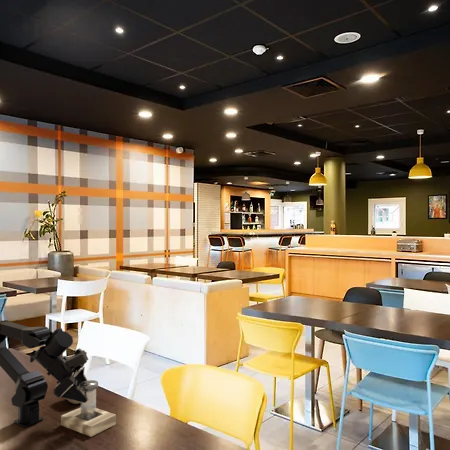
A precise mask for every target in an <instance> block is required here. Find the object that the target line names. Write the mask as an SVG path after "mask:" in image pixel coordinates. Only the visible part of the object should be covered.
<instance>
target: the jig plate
mask: <svg viewBox="0 0 450 450" xmlns="http://www.w3.org/2000/svg"><path fill="white" fill-rule="evenodd" d="M115 425H117V414H115V413H112V412H109V411H106V410H103V409H99V408H98V407H96V418H94V419H91V420H89V421H86V420H83V419H81V407H79V408H76V409H73V410H71V411H69V412H67V413H64V414H62V415H61V416H60V426H62V427H65V428H67V429H69V430H73V431H75V432H78V433H80V434H82V435H86V436H88V437H91V438H92V437H94V436H96V435H98V434H99V433H102V432H103V431H106V430H107V429H109V428H111V427H114V426H115Z"/></svg>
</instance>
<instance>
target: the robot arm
mask: <svg viewBox="0 0 450 450" xmlns="http://www.w3.org/2000/svg"><path fill="white" fill-rule="evenodd" d="M7 338H11V339H15V340H18V341H20V342H21V345H23V346H25V347H26V348H28V349H29V350H30V349H33V350H32V352H31V353H30V354H29V356H30V359H29V362H30V363H33V362H34V361H36V362H37V363H39V365H41V366H42V367H43V368H44V369H45V370H46V371H47V373H46V375H48V376H52V377H53V378H54V379H55V380H56V384H57V385H55V386H54V388H53V395H54V396H56V398H57V399H59V398H61V399H63V398H64V399H66V398H68V399H72V400H76V401H79V402H83V403H86V402H87V399H86V397H85V396H84V394H83V393H82V392H81V391H80V389H79V388H78V387H79V383H81V382H83V381H88V379H87V377H86V375H85V370H86V369H85V364H86V363H87V362H88V361H89V357H88V355H87V354H88V353H87V351H85V349H81V348H78V349H75V350H74V354H73V355H72V356H70V357H67V356H66V355H63V356H62V354H63V353H65V352H66V351H67V350H68V349H69V348H70V347H71V346H72V345H73V343H74V339H73V336H72V335H71V334H70V333H69V332H67V331H64V330H63V327H62V328H61V327H60V328H56V329H55V330H54V331H52V330H50V329H49V327H48V326H32V327H31V326H26V325H22V324H19V323H16V322H12V321H9V319H7V320H6V319H4V320H0V368H2V370H3V371H4V372H5V373H6V375H8V377H9V378H10V379H11V380H12V381H13V382H14V384H15V393H14V395H13V396H12V397H11V403H12V406H14V407H17V408H18V413H17V414H18V415H17V416H18V418H17V419H15V420H13V423H14V424H17V425H18V426H21V427H23V428H27V427H29V426H31V425H34V424H36V423H39V422H41V421H43V420H44V418H43V417H41V416H40V402H39V401H42V400H44V399H45V398H46V395H47V391H48V388H49V385H48V383H47V380H46V379H45V378H46V377H45V376H43V375H42V373H40V371H39V370H33V371H29V370H28V368H26V367H25V366H24V365H23V364H22V362H20V359H18V358H17V357H16V356H15V355H14V354H13V353H12V351H10V350H9V348H8V347H7V346H6V344H7V343H6V339H7ZM34 348H38V349H36V350H34ZM77 386H78V387H77Z"/></svg>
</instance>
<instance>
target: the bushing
mask: <svg viewBox="0 0 450 450" xmlns="http://www.w3.org/2000/svg"><path fill="white" fill-rule="evenodd" d="M87 380H88V379H87ZM97 388H99V381H97V380H88V381H83V382H81V383H79V389H80V390H81V392H82V393H83V394H84V396H85V397H86V399H87V402H86V403H83V402H81V403H80V408H81V419H83V420H86V421H89V420H91V419H94V418H96V408H97Z"/></svg>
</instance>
